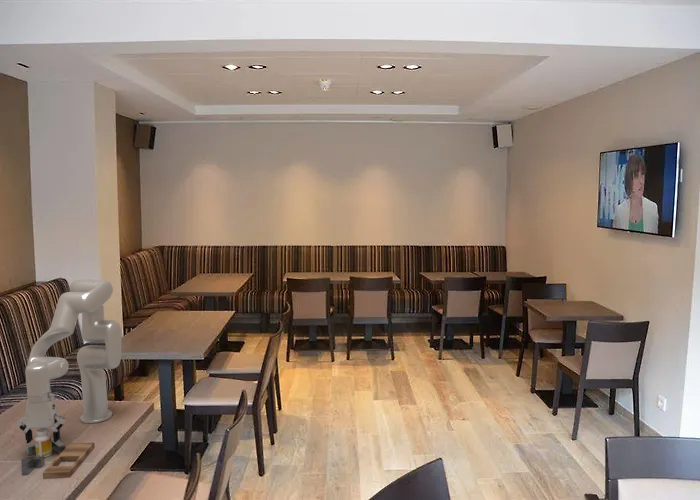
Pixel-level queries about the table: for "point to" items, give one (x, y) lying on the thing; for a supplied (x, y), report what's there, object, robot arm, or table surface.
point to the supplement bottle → (43, 443)
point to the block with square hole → (70, 453)
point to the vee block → (56, 446)
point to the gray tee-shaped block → (31, 464)
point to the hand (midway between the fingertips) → (43, 441)
